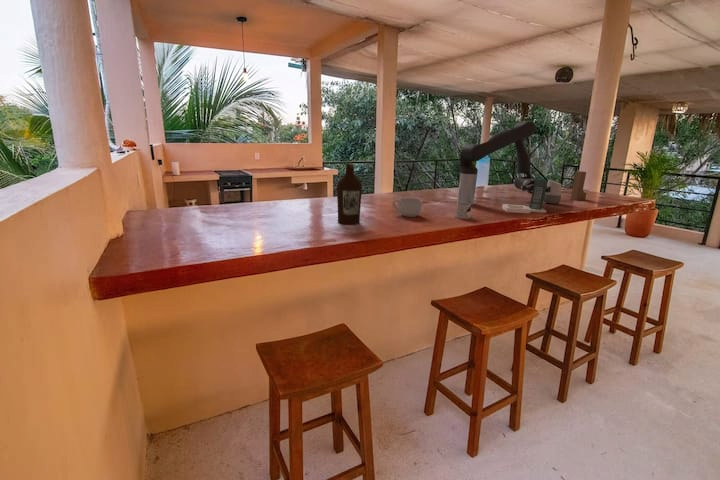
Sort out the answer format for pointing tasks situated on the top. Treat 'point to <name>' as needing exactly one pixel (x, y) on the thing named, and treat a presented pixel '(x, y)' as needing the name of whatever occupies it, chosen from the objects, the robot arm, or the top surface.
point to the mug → (463, 210)
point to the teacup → (408, 206)
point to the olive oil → (349, 197)
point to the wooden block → (578, 186)
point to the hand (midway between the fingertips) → (539, 190)
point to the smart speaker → (553, 193)
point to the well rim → (516, 208)
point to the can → (538, 194)
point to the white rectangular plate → (537, 210)
